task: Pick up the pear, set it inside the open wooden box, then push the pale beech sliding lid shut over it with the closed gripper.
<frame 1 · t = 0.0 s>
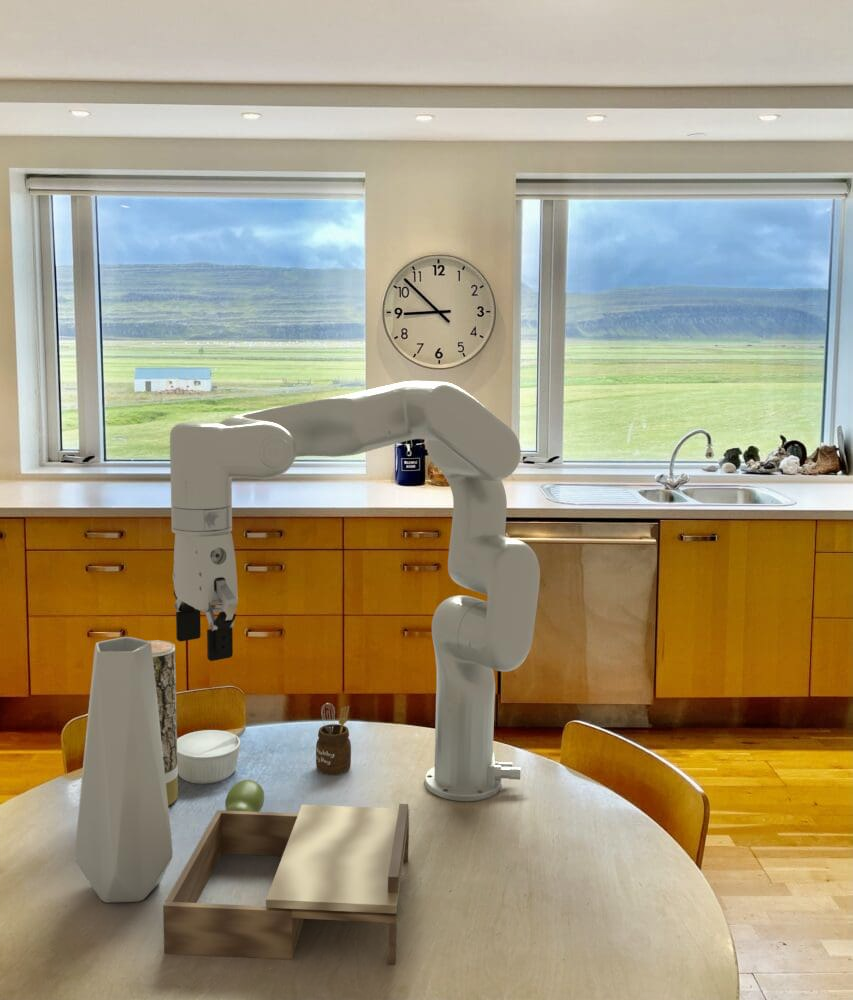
hand: (203, 648, 120), 31 cm above the table, tool pointing down, fingers open, 9 cm apart
pear: (242, 823, 138), on the table
utensil holder: (333, 770, 156), on the table
paper tube: (155, 802, 143), on the table
ramekin: (207, 773, 154), on the table
wooden box: (251, 899, 118), on the table
vase: (123, 890, 120), on the table
lid: (344, 846, 116), point 8 cm above the table, slide at 12.0 cm
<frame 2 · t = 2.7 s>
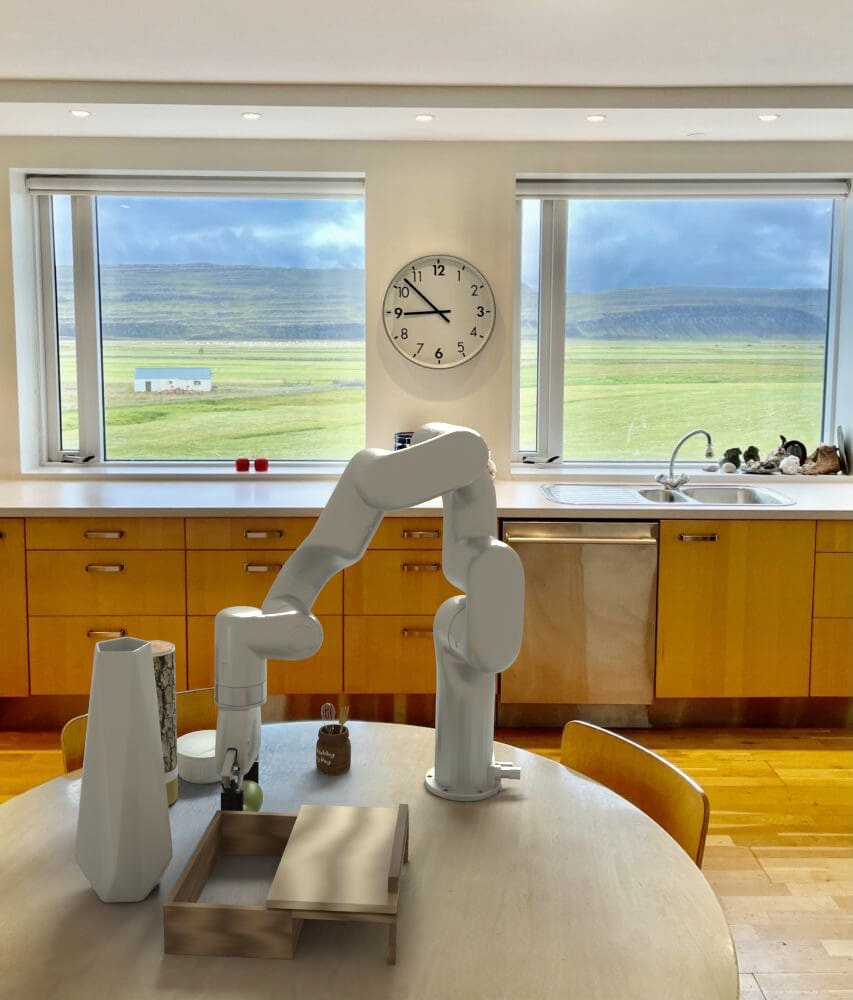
hand: (240, 800, 137), 3 cm above the table, tool pointing down, fingers open, 9 cm apart
pear: (241, 823, 137), on the table, touching gripper
everything else where it was.
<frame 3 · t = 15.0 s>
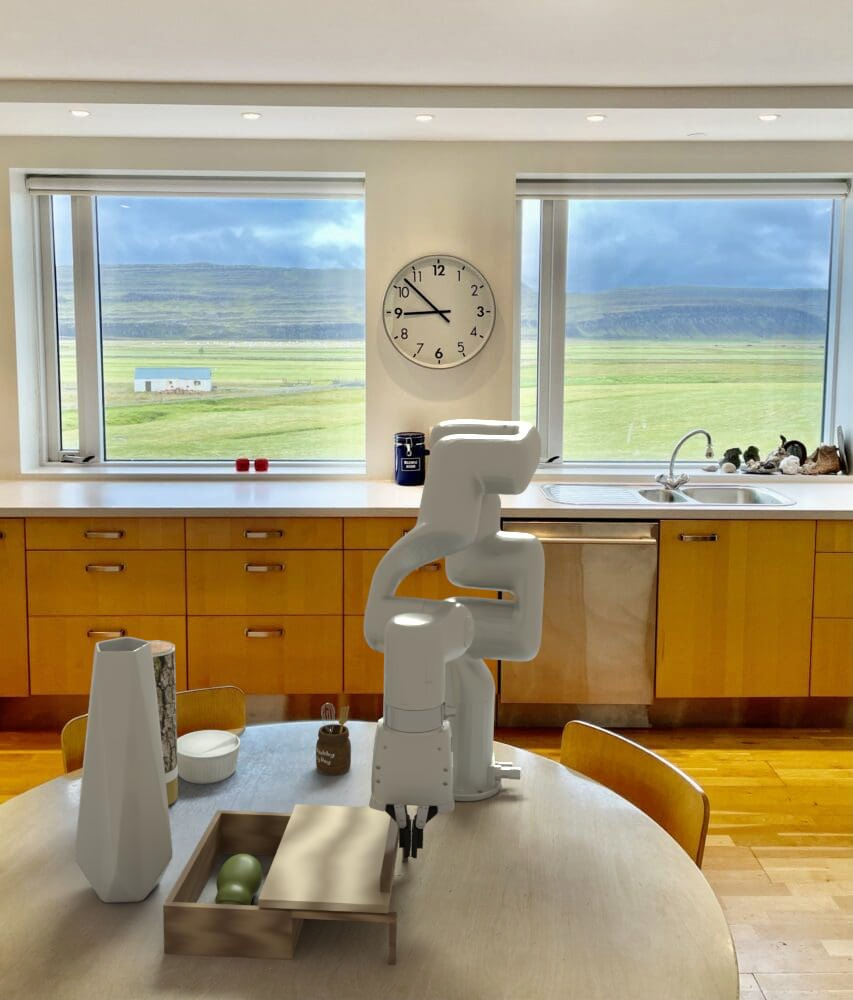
hand: (411, 852, 116), 7 cm above the table, tool pointing down, fingers closed
pear: (237, 907, 117), resting in wooden box
lid: (337, 845, 116), point 8 cm above the table, slide at 11.1 cm, touching gripper
everything else where it was.
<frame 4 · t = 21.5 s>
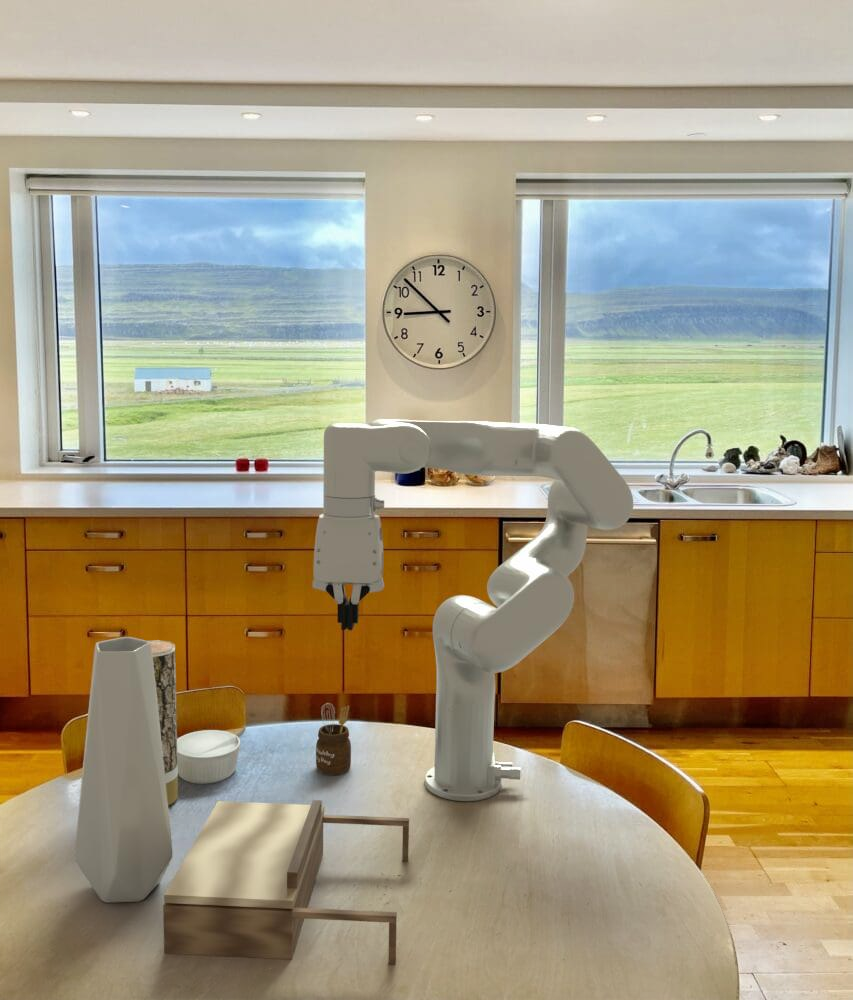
hand: (347, 627, 138), 29 cm above the table, tool pointing down, fingers closed
pear: (233, 913, 115), resting in wooden box
lid: (251, 842, 117), point 8 cm above the table, slide at 0.1 cm
everything else where it was.
at the end: pear inside the target area on the wooden box (3.1 cm from its centre), point 0.0 cm above the wooden box's base; lid slide at 0.1 cm; the gripper is holding nothing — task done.
